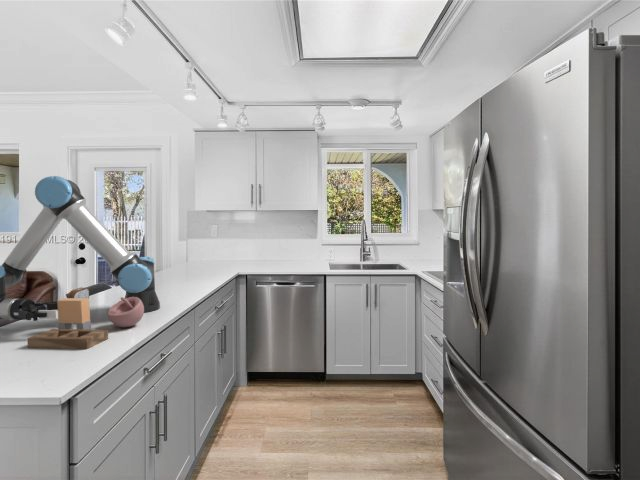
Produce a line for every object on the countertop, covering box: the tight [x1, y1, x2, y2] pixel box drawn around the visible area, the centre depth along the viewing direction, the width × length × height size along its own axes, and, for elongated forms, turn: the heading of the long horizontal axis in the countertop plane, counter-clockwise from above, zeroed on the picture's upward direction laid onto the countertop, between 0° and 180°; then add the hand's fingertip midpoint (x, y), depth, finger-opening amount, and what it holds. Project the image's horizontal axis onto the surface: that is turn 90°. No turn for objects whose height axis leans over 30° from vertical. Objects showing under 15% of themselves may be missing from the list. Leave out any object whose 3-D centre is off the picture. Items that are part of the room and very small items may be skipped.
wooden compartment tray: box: [26, 328, 109, 350], centre depth 125 cm, size 10×20×3 cm, turn 84°
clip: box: [56, 297, 92, 330], centre depth 138 cm, size 4×10×12 cm, turn 84°
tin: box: [66, 287, 90, 299], centre depth 178 cm, size 15×3×8 cm, turn 5°
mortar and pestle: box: [107, 296, 145, 328], centre depth 143 cm, size 12×12×12 cm
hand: (71, 309), depth 138 cm, fingers open, 13 cm apart
